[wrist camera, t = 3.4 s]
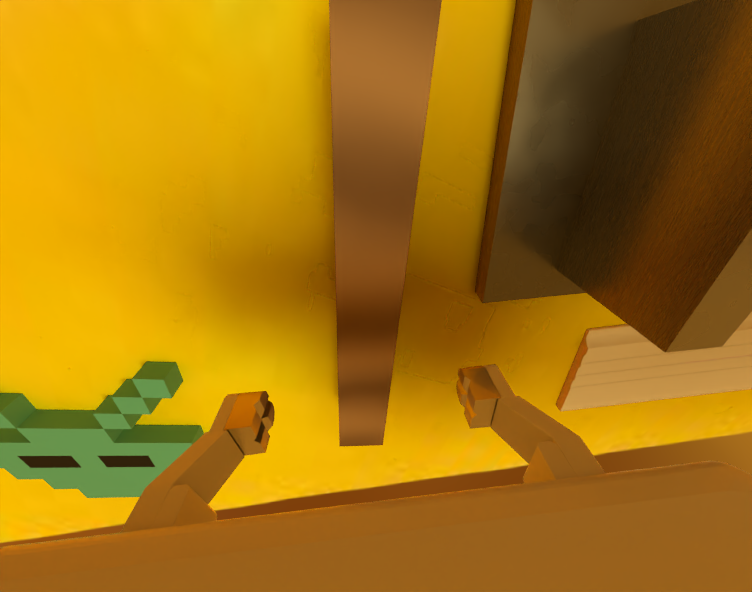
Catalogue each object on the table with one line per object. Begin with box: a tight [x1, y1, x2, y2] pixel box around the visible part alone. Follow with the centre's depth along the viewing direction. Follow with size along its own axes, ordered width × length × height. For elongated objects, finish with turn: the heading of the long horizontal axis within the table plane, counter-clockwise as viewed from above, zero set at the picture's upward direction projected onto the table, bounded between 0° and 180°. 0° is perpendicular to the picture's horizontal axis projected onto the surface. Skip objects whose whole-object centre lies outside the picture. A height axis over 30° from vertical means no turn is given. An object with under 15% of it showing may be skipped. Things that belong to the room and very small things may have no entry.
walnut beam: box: [329, 0, 442, 446], centre depth 17 cm, size 26×4×5 cm, turn 177°
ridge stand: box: [475, 0, 752, 353], centre depth 12 cm, size 12×16×9 cm
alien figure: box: [0, 362, 204, 498], centre depth 26 cm, size 20×2×20 cm
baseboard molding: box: [556, 312, 752, 411], centre depth 25 cm, size 31×3×12 cm
